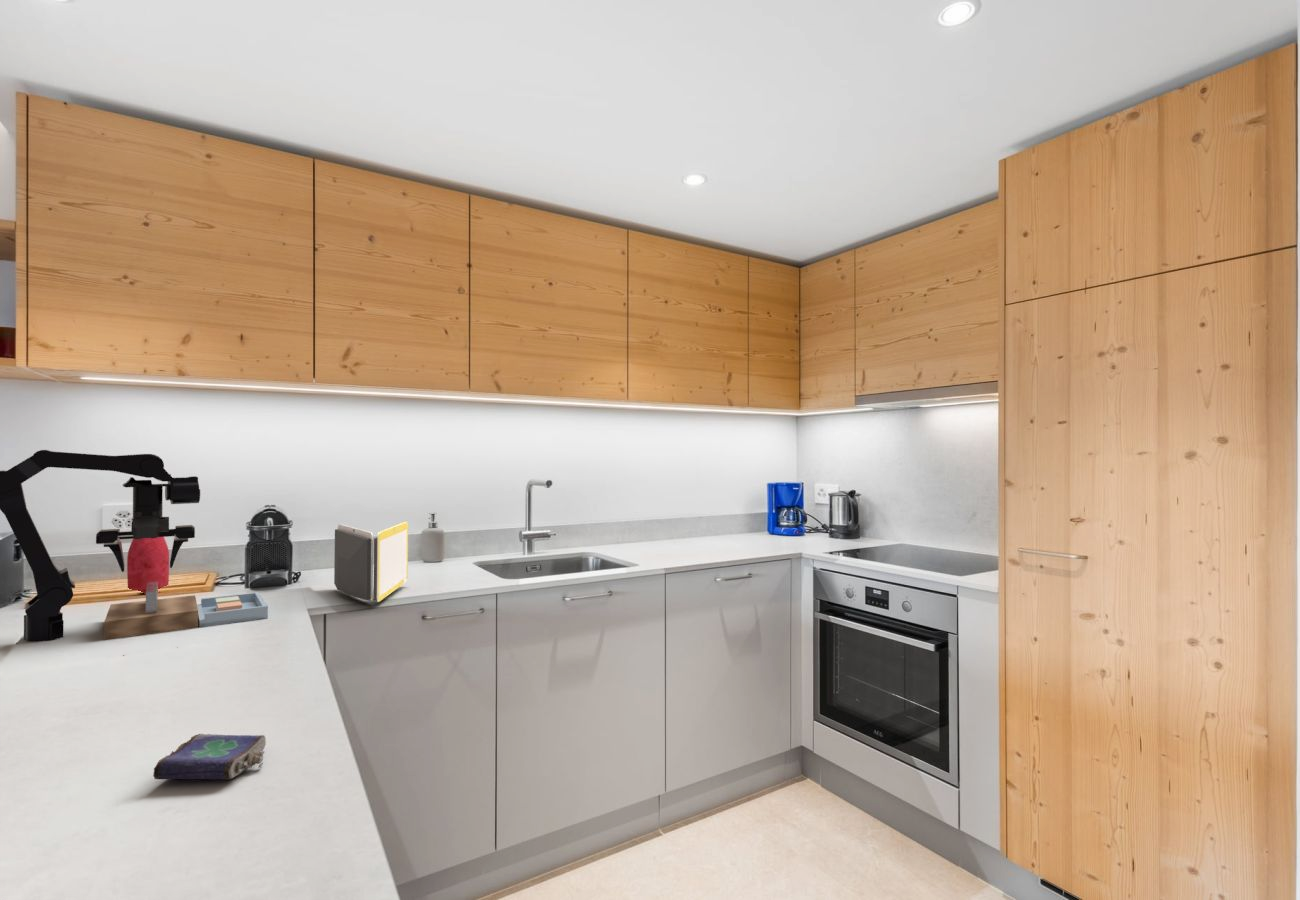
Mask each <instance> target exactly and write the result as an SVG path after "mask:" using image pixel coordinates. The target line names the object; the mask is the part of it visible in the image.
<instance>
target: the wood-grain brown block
mask: <svg viewBox="0 0 1300 900" xmlns="http://www.w3.org/2000/svg"><path fill="white" fill-rule="evenodd" d="M197 605H198V604H197V598H196V595H184V596H178V597H177V596H176V597H167V598H158V603H157V613H152V614H146V600H141V601H140V600H139V601H131V602H129V601H128V602H122V603H121V602H120V603H112V604H110V605H109V607H108V608H109V609H108V611H107V613H106V617H105V619H104V622H103V624H104V628H103V629H104V630H103V631H104V632H103V633H104V634H103V637H104V638H103V639H104V641H105V640H113V639H120V638H121V639H122V638H130V637H136V636H145V635H151V634H159V633H166V632H175V631H181V630H187V629H195V628H196V629H198V628H199V621H198V607H197Z"/></svg>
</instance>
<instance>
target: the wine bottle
mask: <svg viewBox="0 0 1300 900" xmlns="http://www.w3.org/2000/svg"><path fill="white" fill-rule="evenodd" d="M126 558H127V559H126V562H127V563H126V567H127V569H126V576H127V589H128V588H129V589H132V590H138V591H141V592H143V593H144V594H143V595H146V589H147V583H150V582H158V589H160V588H162V587H164V586H167V585H168V586H169V581H170V551H169V548H168V544H167V541H166V539H165V537H158V538H153V539H151V538H142V539H131V543H130V545H129V549H128V552H127V557H126Z"/></svg>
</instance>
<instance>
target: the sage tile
mask: <svg viewBox="0 0 1300 900" xmlns="http://www.w3.org/2000/svg"><path fill="white" fill-rule="evenodd" d="M238 601H240V599H239V597H238V596H234V597H225V598H216V599H215V609H216V612H217V604H221V603H229V602H238Z"/></svg>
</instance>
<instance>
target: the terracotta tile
mask: <svg viewBox="0 0 1300 900" xmlns="http://www.w3.org/2000/svg"><path fill="white" fill-rule="evenodd" d="M234 609H242V603H241V601H238V602H229V603H221V604H217V611H225V610H234Z"/></svg>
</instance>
